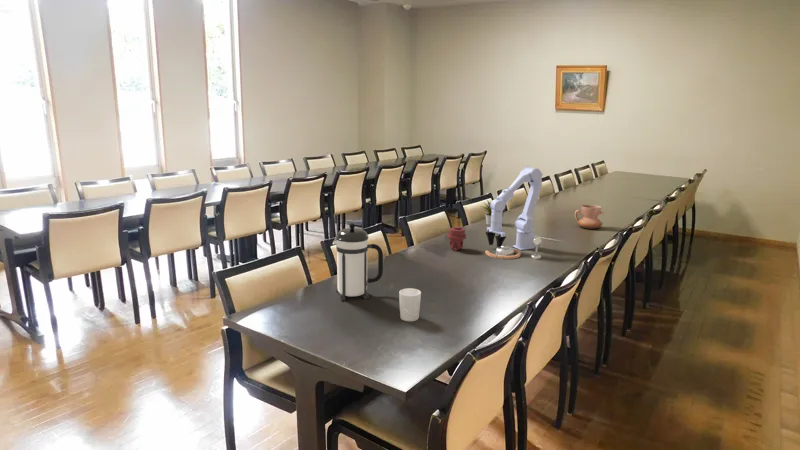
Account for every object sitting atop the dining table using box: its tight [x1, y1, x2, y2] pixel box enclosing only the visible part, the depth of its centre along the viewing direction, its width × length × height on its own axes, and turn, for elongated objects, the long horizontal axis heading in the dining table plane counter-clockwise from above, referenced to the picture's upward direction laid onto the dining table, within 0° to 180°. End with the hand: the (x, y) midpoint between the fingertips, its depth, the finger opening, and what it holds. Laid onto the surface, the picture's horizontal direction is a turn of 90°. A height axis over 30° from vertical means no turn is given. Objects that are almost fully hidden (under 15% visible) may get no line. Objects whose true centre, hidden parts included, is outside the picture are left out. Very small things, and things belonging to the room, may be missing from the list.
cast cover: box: [495, 244, 515, 256], centre depth 267 cm, size 9×9×5 cm
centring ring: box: [484, 248, 522, 260], centre depth 268 cm, size 18×14×1 cm
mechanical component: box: [446, 225, 467, 252], centre depth 275 cm, size 12×10×10 cm
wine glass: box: [530, 236, 543, 260], centre depth 262 cm, size 5×5×11 cm
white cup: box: [398, 287, 422, 322], centre depth 186 cm, size 8×8×10 cm
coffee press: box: [332, 222, 384, 302], centre depth 205 cm, size 17×16×30 cm
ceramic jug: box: [574, 204, 605, 230], centre depth 330 cm, size 18×14×14 cm
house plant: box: [479, 200, 492, 226], centre depth 336 cm, size 14×14×16 cm
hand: (494, 246), depth 276 cm, fingers open, 7 cm apart
